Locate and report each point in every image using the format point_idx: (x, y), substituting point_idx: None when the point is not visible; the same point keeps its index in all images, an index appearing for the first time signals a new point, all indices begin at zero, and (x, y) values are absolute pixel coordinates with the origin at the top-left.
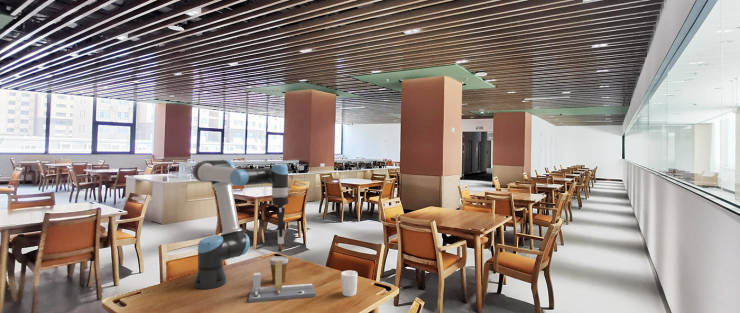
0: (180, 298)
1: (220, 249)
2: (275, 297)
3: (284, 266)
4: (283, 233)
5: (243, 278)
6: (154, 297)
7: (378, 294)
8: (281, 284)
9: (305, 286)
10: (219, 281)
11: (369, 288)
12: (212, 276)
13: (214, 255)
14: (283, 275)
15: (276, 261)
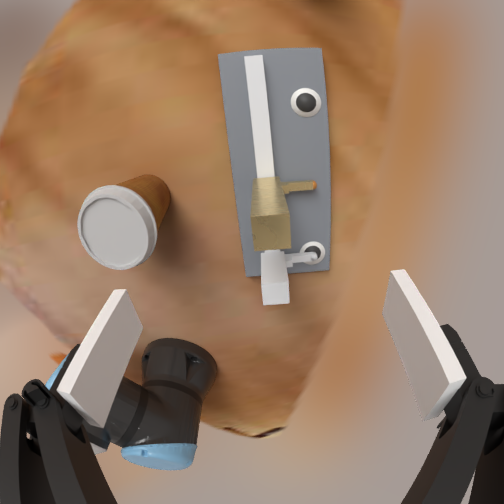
0: (265, 388)
1: (167, 429)
2: (330, 190)
3: (141, 193)
4: (447, 341)
5: (133, 304)
6: (253, 413)
7: None
8: (279, 180)
9: (265, 82)
10: (196, 356)
11: None
12: (202, 380)
13: (187, 425)
14: (154, 185)
15: (270, 244)
